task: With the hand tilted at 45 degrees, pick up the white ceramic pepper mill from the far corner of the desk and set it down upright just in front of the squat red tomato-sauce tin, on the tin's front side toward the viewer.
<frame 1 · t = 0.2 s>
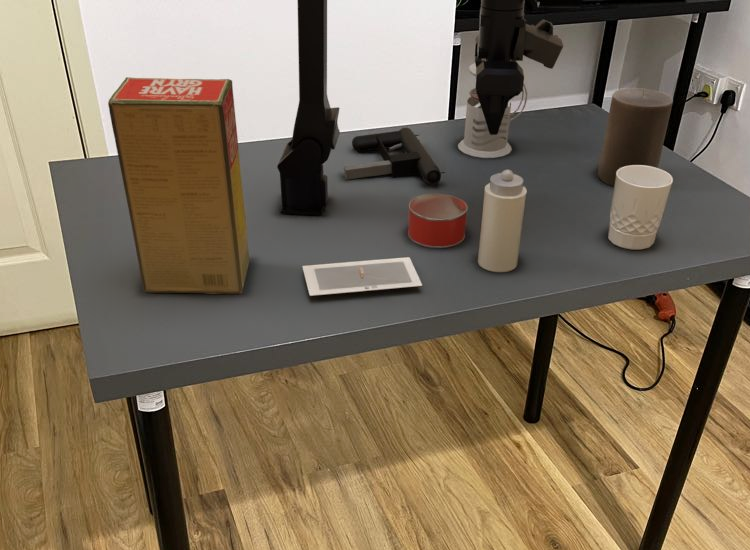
hand: (492, 122, 120), 15 cm above the table, tool pointing down, fingers open, 9 cm apart
food packaging: (198, 277, 113), on the table
pillar candle: (625, 178, 142), on the table
door handle: (386, 167, 143), on the table
pepper mill: (497, 262, 117), on the table
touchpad: (361, 284, 112), on the table
white cup: (630, 240, 124), on the table
sauce tin: (436, 234, 124), on the table
french press: (489, 148, 151), on the table
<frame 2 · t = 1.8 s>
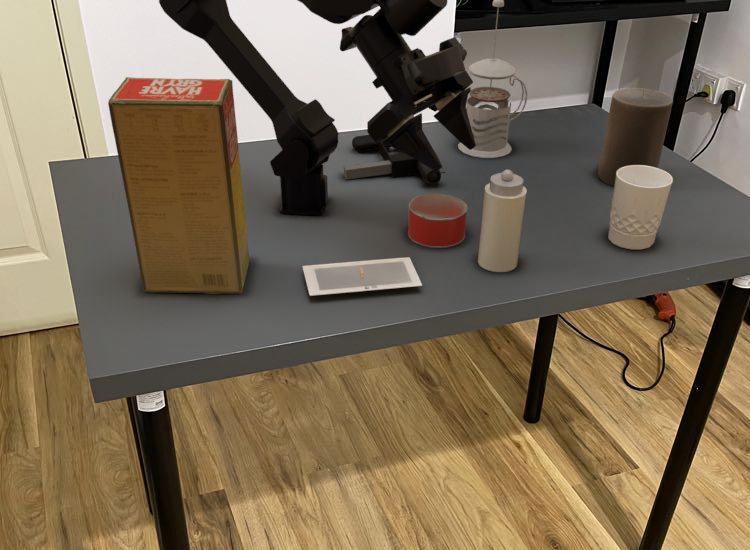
hand: (456, 158, 112), 13 cm above the table, tool tilted 45°, fingers open, 9 cm apart
nothing on the table moved.
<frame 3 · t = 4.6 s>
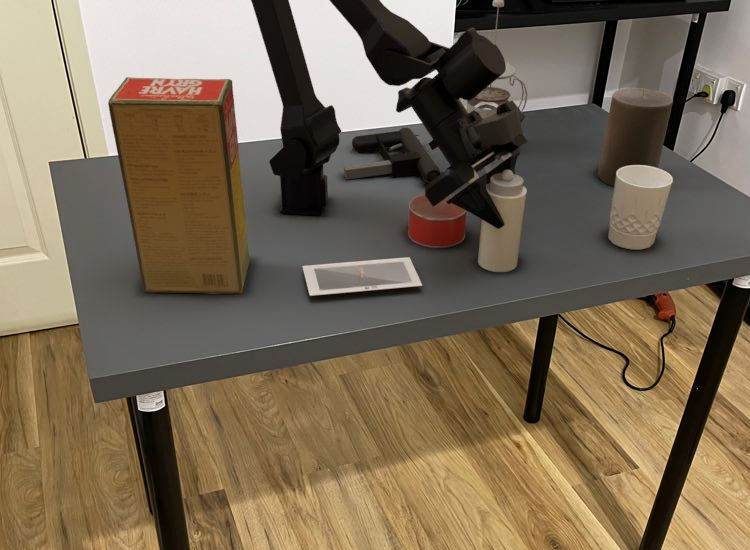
hand: (511, 219, 112), 7 cm above the table, tool tilted 45°, fingers closed on pepper mill, 5 cm apart
pepper mill: (497, 262, 117), on the table, touching gripper
everything else where it was.
when the fingers open (7 cm above the table, at t = 10.0 s): pepper mill stays where it is, on the table.
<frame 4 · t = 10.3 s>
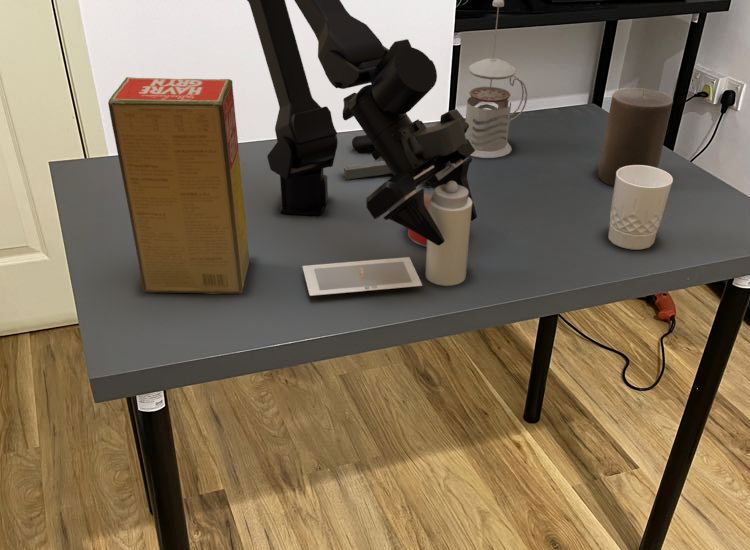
hand: (458, 231, 109), 7 cm above the table, tool tilted 45°, fingers open, 8 cm apart
pepper mill: (445, 275, 114), on the table
everything else where it was.
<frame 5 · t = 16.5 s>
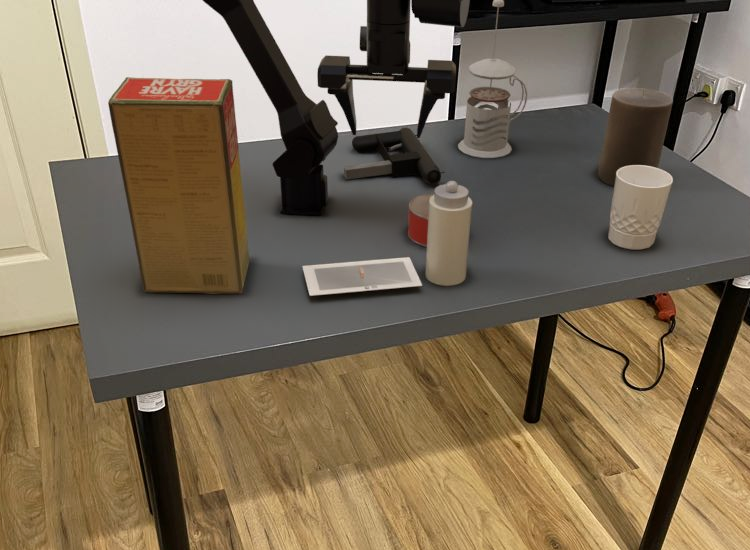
hand: (386, 135, 119), 13 cm above the table, tool pointing down, fingers open, 9 cm apart
nothing on the table moved.
at the end: pepper mill inside the target area on the table beside the sauce tin (0.8 cm from its centre), on the table; pepper mill tilted 0°; sauce tin moved 0.0 cm from its start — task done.
